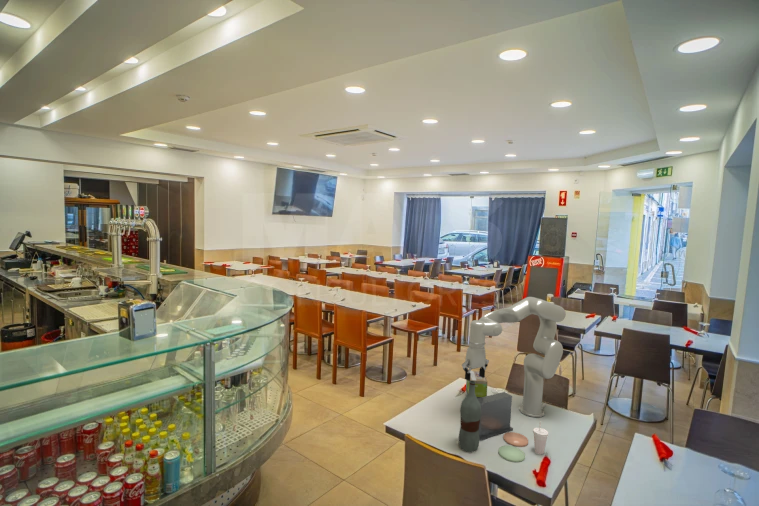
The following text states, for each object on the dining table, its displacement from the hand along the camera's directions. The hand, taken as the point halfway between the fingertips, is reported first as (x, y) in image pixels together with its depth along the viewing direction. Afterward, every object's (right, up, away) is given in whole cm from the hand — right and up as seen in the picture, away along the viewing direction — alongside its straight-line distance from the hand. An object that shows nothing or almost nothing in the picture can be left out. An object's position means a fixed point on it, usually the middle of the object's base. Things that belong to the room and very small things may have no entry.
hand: (474, 378), depth 202 cm
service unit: (+6, -23, -10) cm, 25 cm away
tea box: (+6, -21, +25) cm, 33 cm away
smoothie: (+23, -25, -25) cm, 42 cm away
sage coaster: (+9, -24, -28) cm, 38 cm away
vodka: (-8, -24, -23) cm, 34 cm away
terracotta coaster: (+15, -24, -16) cm, 33 cm away
